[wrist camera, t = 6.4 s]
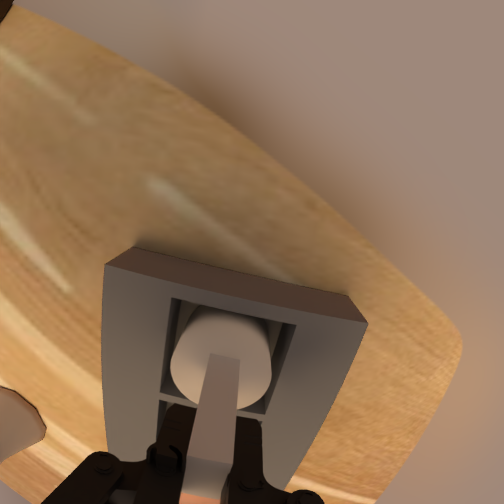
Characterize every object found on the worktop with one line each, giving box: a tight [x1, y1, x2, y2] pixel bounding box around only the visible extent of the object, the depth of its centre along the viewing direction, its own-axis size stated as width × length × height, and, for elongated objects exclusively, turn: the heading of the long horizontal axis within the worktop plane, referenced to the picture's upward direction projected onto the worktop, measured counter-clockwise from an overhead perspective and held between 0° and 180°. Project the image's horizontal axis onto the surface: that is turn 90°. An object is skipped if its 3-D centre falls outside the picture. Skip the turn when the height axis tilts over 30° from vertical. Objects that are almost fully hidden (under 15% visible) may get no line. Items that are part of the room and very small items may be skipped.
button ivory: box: [170, 305, 272, 409], centre depth 17 cm, size 5×5×4 cm
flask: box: [0, 387, 46, 464], centre depth 18 cm, size 7×7×10 cm
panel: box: [101, 247, 368, 490], centre depth 19 cm, size 22×14×4 cm, turn 167°
